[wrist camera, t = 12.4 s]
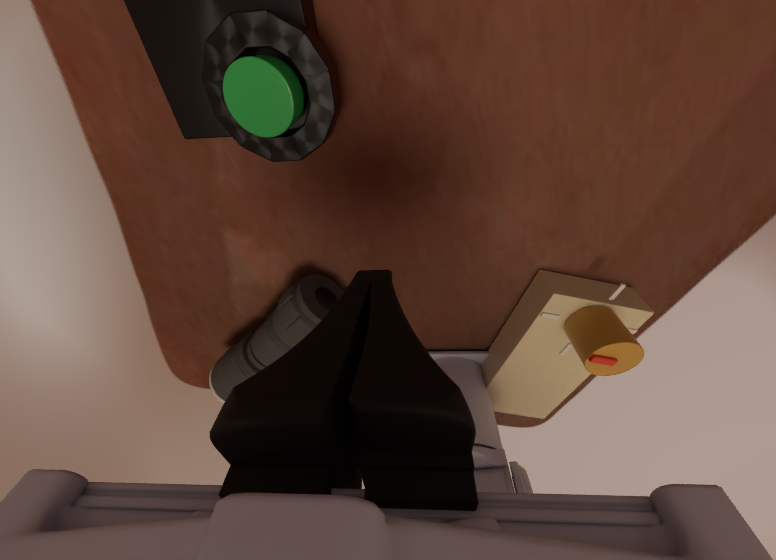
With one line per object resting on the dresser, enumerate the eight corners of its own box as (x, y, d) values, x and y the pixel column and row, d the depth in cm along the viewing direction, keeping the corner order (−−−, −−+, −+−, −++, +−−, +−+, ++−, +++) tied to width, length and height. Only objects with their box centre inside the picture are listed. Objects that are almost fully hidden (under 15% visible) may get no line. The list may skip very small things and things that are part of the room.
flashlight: (307, 256, 24) (287, 301, 20) (359, 292, 26) (351, 340, 22) (225, 345, 32) (197, 392, 27) (271, 368, 34) (252, 415, 29)
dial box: (534, 393, 35) (544, 420, 32) (467, 382, 34) (472, 409, 31) (647, 268, 24) (676, 295, 21) (552, 249, 23) (570, 274, 20)
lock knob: (626, 310, 22) (660, 351, 19) (596, 341, 25) (623, 383, 22) (581, 301, 22) (608, 342, 19) (554, 334, 24) (576, 375, 21)
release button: (310, 127, 15) (301, 136, 14) (252, 130, 15) (237, 139, 14) (295, 52, 13) (283, 53, 12) (229, 57, 14) (210, 59, 12)
